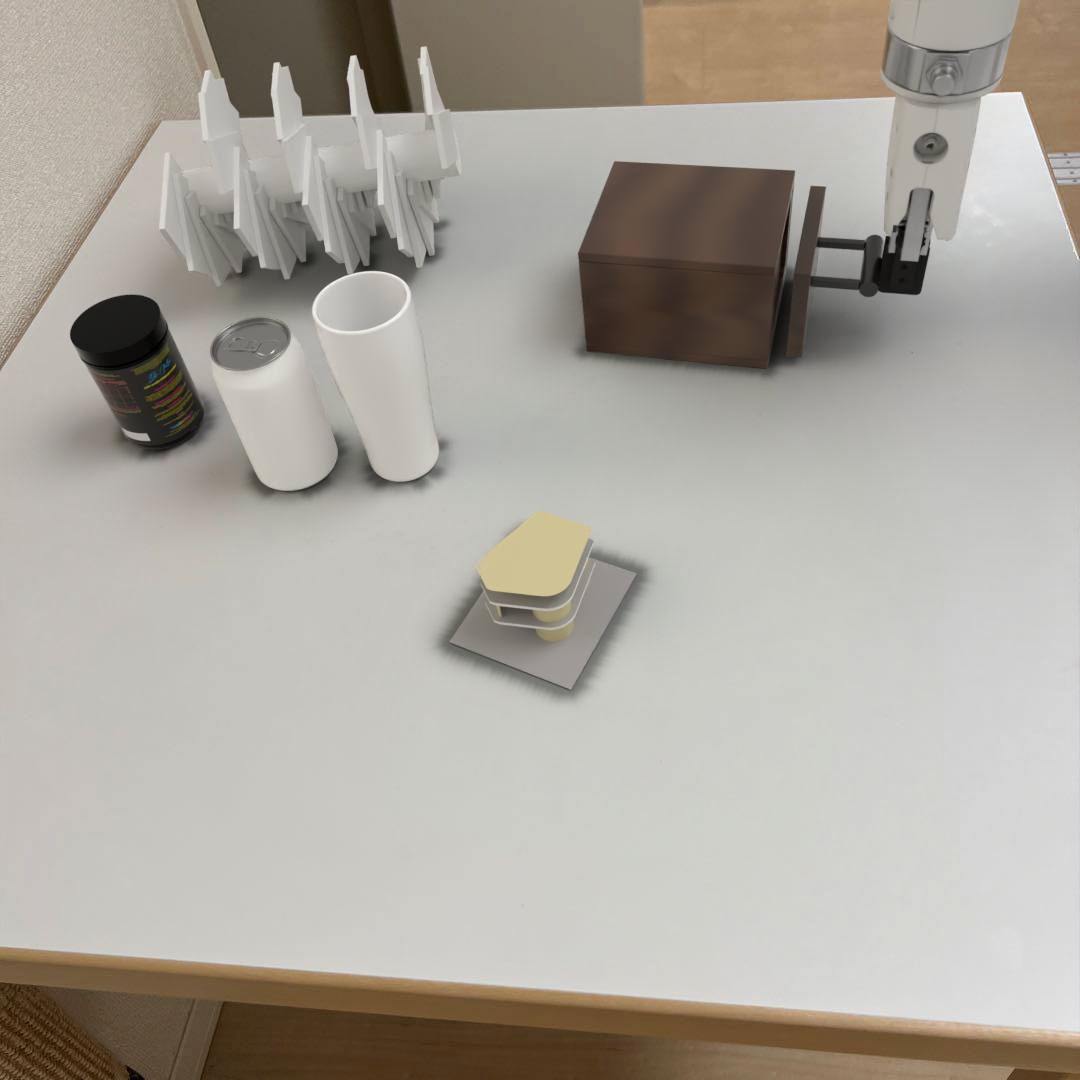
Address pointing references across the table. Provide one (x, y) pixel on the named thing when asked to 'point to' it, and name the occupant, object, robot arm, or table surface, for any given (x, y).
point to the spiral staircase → (306, 183)
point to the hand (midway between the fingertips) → (899, 287)
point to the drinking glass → (380, 369)
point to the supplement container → (139, 370)
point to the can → (273, 403)
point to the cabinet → (685, 262)
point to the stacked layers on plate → (543, 600)
